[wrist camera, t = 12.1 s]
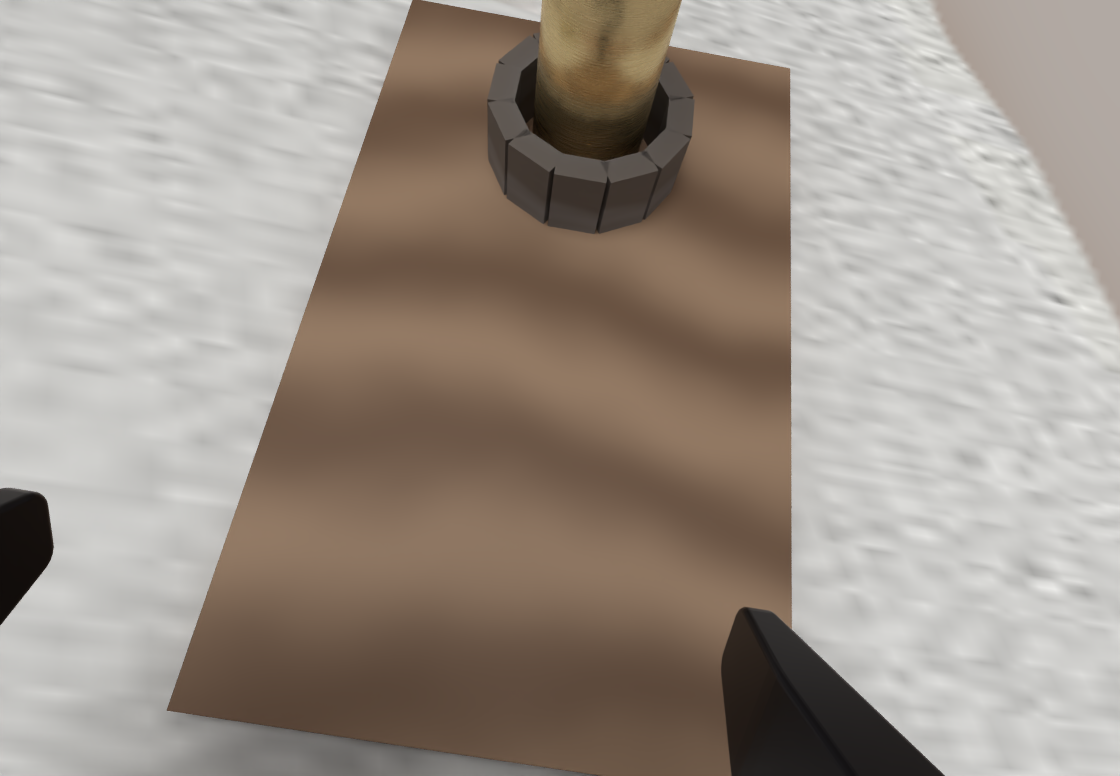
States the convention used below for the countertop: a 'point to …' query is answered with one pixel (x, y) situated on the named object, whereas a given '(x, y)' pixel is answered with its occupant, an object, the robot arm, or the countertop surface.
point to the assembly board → (523, 427)
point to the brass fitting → (599, 73)
